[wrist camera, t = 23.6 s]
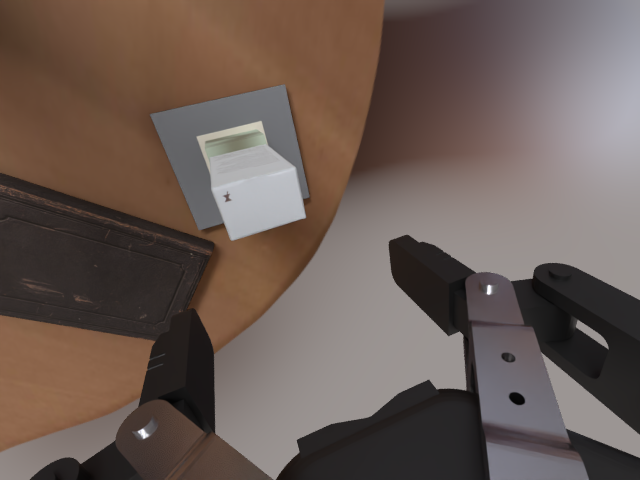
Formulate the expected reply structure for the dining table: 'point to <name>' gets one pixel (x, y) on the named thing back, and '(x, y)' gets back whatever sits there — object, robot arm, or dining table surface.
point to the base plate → (219, 121)
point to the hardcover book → (92, 264)
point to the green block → (234, 143)
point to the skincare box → (255, 190)
